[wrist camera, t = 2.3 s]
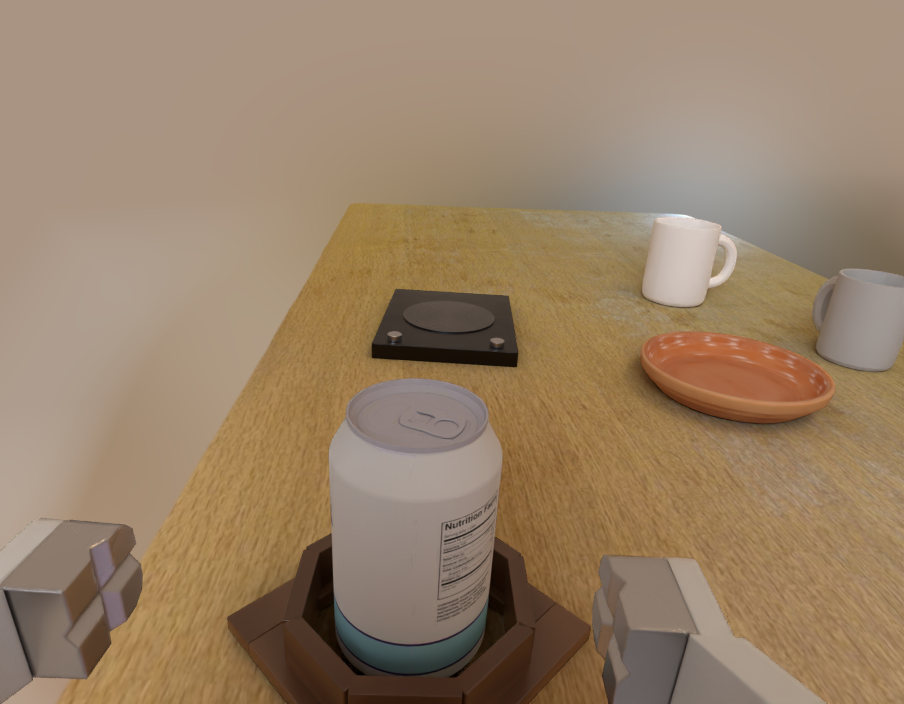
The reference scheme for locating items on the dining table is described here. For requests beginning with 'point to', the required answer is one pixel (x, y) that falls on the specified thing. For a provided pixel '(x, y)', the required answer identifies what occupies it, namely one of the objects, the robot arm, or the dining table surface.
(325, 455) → the dining table surface
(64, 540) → the robot arm
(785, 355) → the saucer
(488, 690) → the can holder
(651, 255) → the mug
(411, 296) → the hob
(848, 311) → the cup
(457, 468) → the beverage can
